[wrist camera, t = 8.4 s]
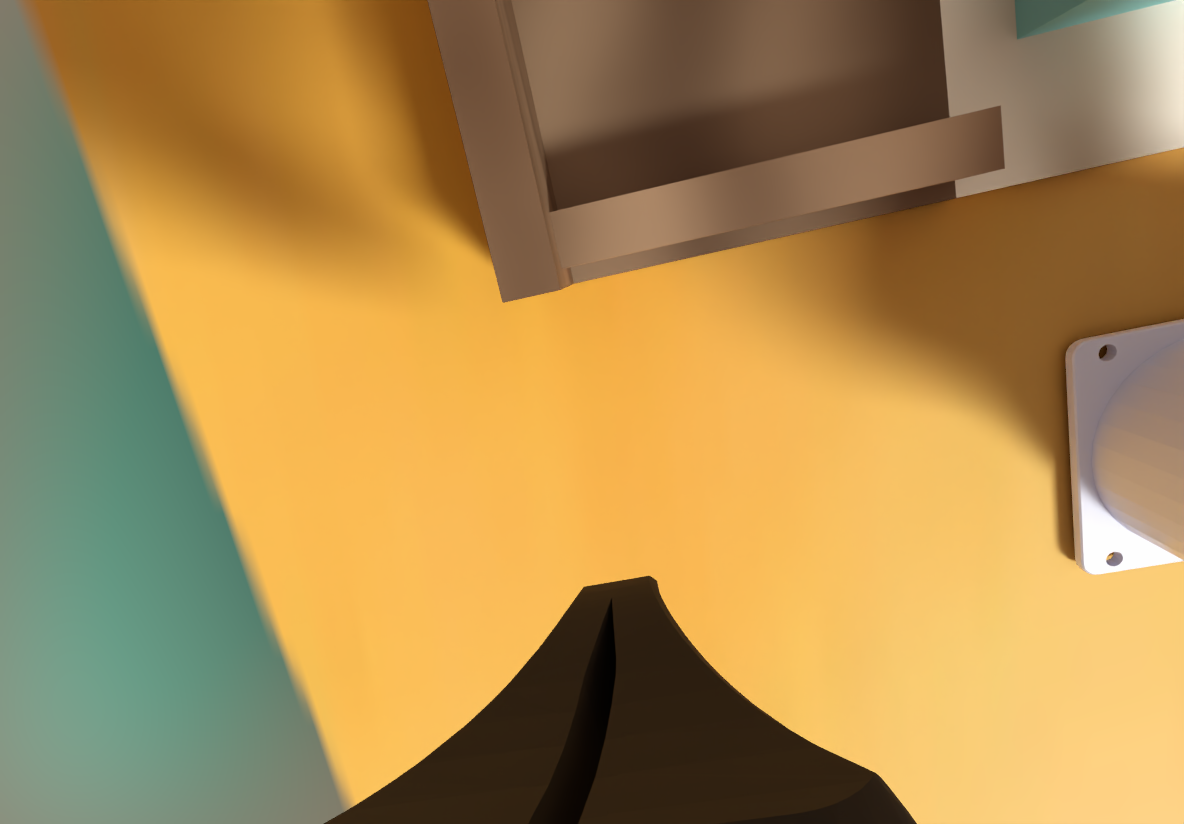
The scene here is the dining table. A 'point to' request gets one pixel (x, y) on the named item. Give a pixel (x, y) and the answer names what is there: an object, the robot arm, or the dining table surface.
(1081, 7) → the teal block
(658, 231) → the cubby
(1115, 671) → the dining table surface
